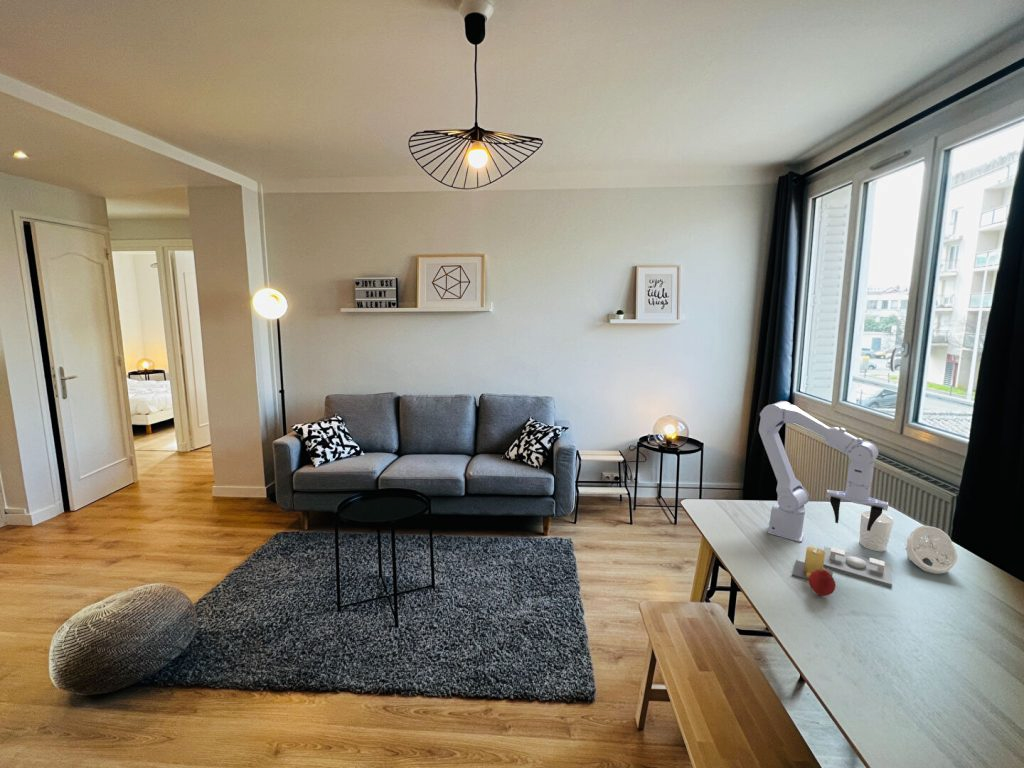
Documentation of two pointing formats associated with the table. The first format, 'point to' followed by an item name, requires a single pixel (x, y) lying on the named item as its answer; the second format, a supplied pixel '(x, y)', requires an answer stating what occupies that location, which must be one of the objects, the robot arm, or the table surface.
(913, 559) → the skull bowl
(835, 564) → the post base
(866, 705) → the table surface
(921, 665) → the table surface
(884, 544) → the white cup
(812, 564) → the yellow rounded piece
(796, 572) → the mat
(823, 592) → the onion
